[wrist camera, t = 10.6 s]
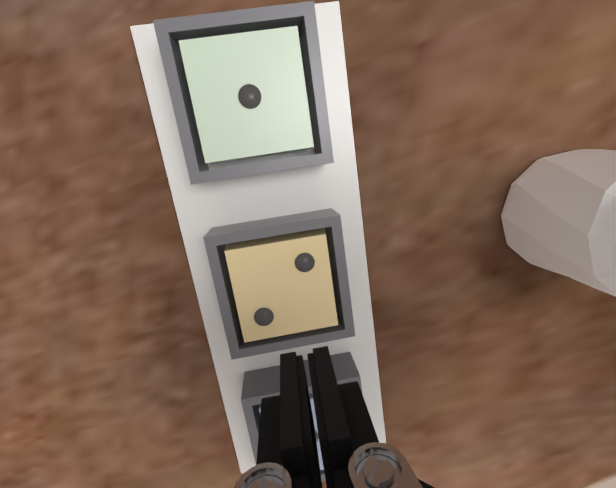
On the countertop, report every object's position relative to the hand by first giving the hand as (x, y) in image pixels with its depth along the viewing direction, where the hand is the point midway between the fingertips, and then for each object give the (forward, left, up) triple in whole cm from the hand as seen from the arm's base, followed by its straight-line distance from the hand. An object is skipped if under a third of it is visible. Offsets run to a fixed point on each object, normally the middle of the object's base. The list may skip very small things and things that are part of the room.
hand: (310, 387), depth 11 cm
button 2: (+1, 0, -12) cm, 12 cm away
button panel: (+1, 0, -13) cm, 13 cm away
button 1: (+1, -11, -12) cm, 16 cm away
